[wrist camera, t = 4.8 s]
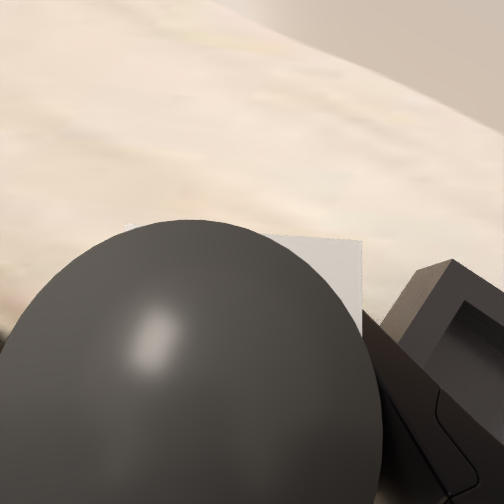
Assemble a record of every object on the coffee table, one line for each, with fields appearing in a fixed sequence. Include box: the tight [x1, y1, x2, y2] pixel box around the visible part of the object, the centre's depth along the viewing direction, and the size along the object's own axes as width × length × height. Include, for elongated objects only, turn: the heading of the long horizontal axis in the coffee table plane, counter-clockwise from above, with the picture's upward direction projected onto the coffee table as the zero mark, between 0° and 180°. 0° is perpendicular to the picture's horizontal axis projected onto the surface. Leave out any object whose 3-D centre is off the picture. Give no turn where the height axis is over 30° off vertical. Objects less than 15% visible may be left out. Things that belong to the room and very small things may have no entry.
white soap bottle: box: [0, 220, 383, 504], centre depth 8 cm, size 5×5×13 cm
